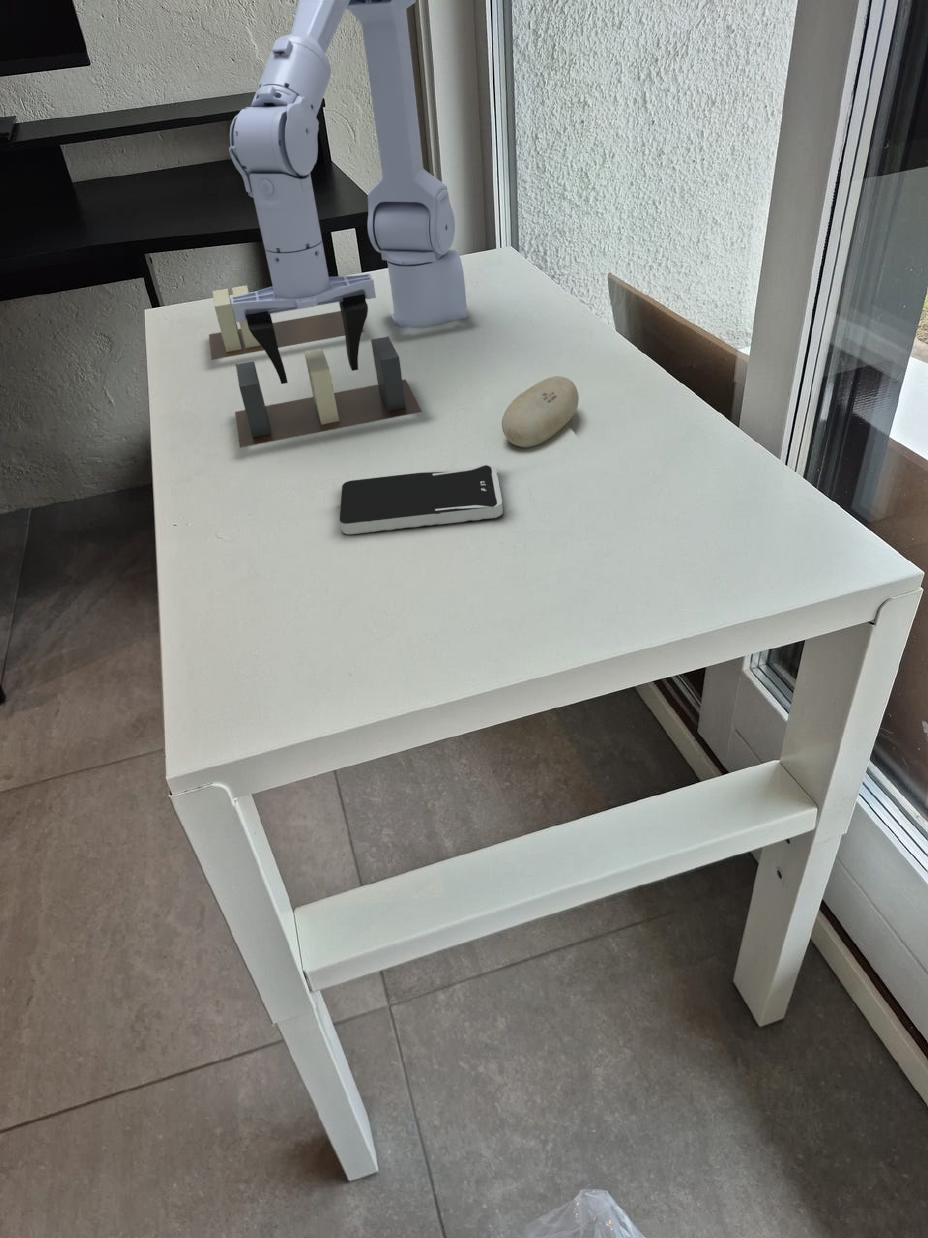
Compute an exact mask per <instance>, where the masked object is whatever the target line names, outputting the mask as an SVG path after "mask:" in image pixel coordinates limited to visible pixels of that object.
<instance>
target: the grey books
mask: <svg viewBox="0 0 928 1238" xmlns="http://www.w3.org/2000/svg"><path fill="white" fill-rule="evenodd" d="M370 343H371V348H372V356H373V361H374V367H375V375H376V380H377V385H378V388H379V391H380V393H381V395H382V398H383V400H384V402H385V404H386V407H387V409H388V411H394V410H399V409H404V408H406V404H405V396H404V389H403V382H402V380H403V376H402V375H403V374H402V369H401V368H402V367H401V361H400V356H399V354H398V352H397V350H396V348H395V346H394V344H393V343H392V341H391V339H390V336H384V337H378V338H373V339H370ZM235 368H236V374H237V381H238V387H239V391H240V395H241V399H242V403H243V407H244V410H245V411H246V415H247V419H248V422H249V426H250V430H251V434H252V438H256V437H261V436H266V435H271V432H270V427H269V422H268V417H267V412H266V408H265V406H266V404H265V400H264V396H263V392H262V388H261V384H260V380H259V376H258V375H259V374H258V371H257V367H256V363H255V361H254V360H253V361H247V362H243V363H237V364H235Z"/></svg>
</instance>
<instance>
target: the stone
mask: <svg viewBox="0 0 928 1238" xmlns="http://www.w3.org/2000/svg"><path fill="white" fill-rule="evenodd" d="M579 396H580V395H579V392H578V389H577V386H576V385H575V383H574V381H572V379H570V378H568V377H565V376H562V375H561V376H560V375H556V376H555V375H554V376H551V377H548V378H545V379H543V380H541V381H538V382H537V383H535V384H534V385H532V386H531V387H529V388H526V390H524V391H523V392H521V393H519V394H518V395H517V396H516V398H514V399H513V400H512V401H511V403H509V405H508V406H507V408H506V410H505V411H504V413H503V416H502V419H501V429H502V433H503V435H504V437H505V438H506V439H507V441H508V442H510V443H511V444H512V445H515V446H516V447H518V448H523V449H524V448H525V449H527V448H533V447H537V446H539V445H541V444H543V443H545V442H547V441H548V440H549V439H551V438H553V437H554V436H555V435H556V434H557V433H559V432H560V431H561V430H563V428H564V427H565V426H566V425H567V424H568V423H569V422H570V420H571V419H572V418H573V416H574V414H575V413H576V411H577V409H578V406H579V399H580V397H579Z"/></svg>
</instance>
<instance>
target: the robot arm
mask: <svg viewBox="0 0 928 1238" xmlns="http://www.w3.org/2000/svg"><path fill="white" fill-rule="evenodd" d="M416 1H417V0H298V3H297V7H296V10H295V14H294V19H293V23H292V26H291V30H290V34H285V35H282V36H280V37H278V38H277V39H276V40H275V41H274V43H273V45H272V47H271V50H270V54H269V56H268V58H267V61H266V63H265V66H264V69H263V72H262V75H261V77H260V80H259V83H258V85H257V88H256V91H255V93H254V96H253V99H252V102H251V104H250V106H246V107H244V108H242V109H241V110H240V111H239V112H238V114H236V115H235V116H234V118H233V119H232V121H231V124H230V129H229V144H230V147H229V148H228V152H229V155H230V159H231V161H232V163H233V166H234V167H235V169H236V170H237V171H238V173H239V174H240V176H241V178H242V180H243V183H244V187H245V192H246V193H248V196H249V197H250V198H252V199H253V202H254V206H255V212H256V215H257V220H258V225H259V229H260V235H261V238H262V244H263V248H264V251H265V257H266V261H267V267H268V270H269V276H270V280H271V284H272V286H269V287H266V288H263V289H262V288H261V289H259V290H256V291H252V292H249V294H245V295H241V296H236V297H233V296H230V299H231V304H232V308H233V312H234V316H235V320H236V323H239V322H241V321H245V320H246V319H247V323H248V328H249V330H250V332H251V333H252V335H253V336H254V338H255V339H256V340H257V341H258V342H259V344H260V345H261V346H262V348H263V349H264V352H265V354H266V355H267V357H268V358H269V360H270V361H271V363H272V365H273V367H274V369H275V371H276V373H277V375H278V378H279V381H280V384H281V385H284V384H288V383H289V382H288V378H287V373H286V369H285V366H284V362H283V359H282V356H281V353H280V350H279V348H278V345H277V341H276V336H275V331H274V327H273V323H274V322H273V319H272V315H273V314H279V313H284V312H289V311H295V310H303V309H308V308H313V307H314V308H315V307H318V306H324V305H331V304H335V303H338V304H339V308H340V309H339V310H340V311H341V314H342V319H343V324H344V330H345V336H344V338H345V347H346V355H347V360H348V364H349V365H348V366H349V367H350V369H351V372H353V371H358V370H359V349H360V344H361V343H360V342H361V337H362V333H363V332H362V329H363V328H364V325H365V323H366V320H367V318H368V313H369V305H368V303H367V301H366V300H372V299H376V298H377V295H376V288H375V282H374V278H373V276H372V275H371V273H364V274H357V275H341V276H329V271H328V267H327V260H326V254H325V250H324V249H325V248H324V244H323V243H324V242H323V239H322V232H321V226H320V221H319V215H318V210H317V204H316V198H315V193H314V187H313V181H312V177H311V176H312V175H311V172H312V171H313V169H314V168H315V165H316V164H317V162H318V161H317V160H318V153H319V143H318V133H319V129H320V128H319V124H320V122H319V120H318V118H317V115H318V113H319V111H320V109H321V105H322V102H323V99H324V96H325V93H326V91H327V87H328V85H329V81H330V79H331V76H332V68H331V64H330V60H329V59H328V56H327V55H326V53H327V51H328V49H329V46H330V45H331V42H332V40H333V38H334V35H336V34H335V33H336V32H337V29H338V27H339V25H340V23H341V20H342V18H343V16H344V14H345V11H346V10H348V11H349V12H350V13H351V14H352V15H353V16H354V17H355V18H356V19H357V20H358V21H359V23H360V24H361V27H362V34H363V43H364V50H365V57H366V64H367V71H368V80H369V87H370V94H371V101H372V108H373V116H374V124H375V129H376V130H375V131H376V137H377V138H376V139H377V145H378V153H379V159H380V160H379V161H380V168H381V174H382V177H381V178H380V179H379V180H378V181H377V182H376V183H375V184H374V185H373V186H372V187H371V189H370V191H369V192H368V194H367V208H368V210H367V211H368V215H367V234H368V238H369V241H370V243H371V245H372V247H373V248H374V250H375V251H376V252H378V253H380V256H381V260H382V261H386V263H387V270H388V277H389V284H390V291H391V298H392V307H393V313H391V314H390V316H391V318H392V320H393V322H394V324H395V325H396V327H397V329H399V330H400V329H404V328H405V329H406V328H410V329H421V328H429V327H433V326H436V325H437V326H438V325H439V324H442V323H447V322H452V321H457V320H463V319H467V318H468V307H467V296H466V282H465V274H464V267H463V264H462V259H461V257H460V254H459V252H458V250H457V249H453V248H452V249H451V247H452V245H453V243H454V241H455V240H454V239H455V234H456V219H455V213H454V210H453V208H452V205H451V201H450V194H449V191H448V186H447V185H446V184H445V183H444V182H442V181H441V180H439V179H438V178H437V177H435V176H434V175H432V174H431V173H430V172H428V171H427V170H426V169H425V168H424V162H423V153H422V152H423V151H422V144H421V134H420V125H419V116H418V107H417V97H416V87H415V79H414V71H413V61H412V51H411V42H410V31H409V25H408V24H409V23H408V15H407V14H408V13H407V9H408V8H409V7H412V5H413V4H415V3H416Z"/></svg>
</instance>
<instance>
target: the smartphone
mask: <svg viewBox="0 0 928 1238" xmlns="http://www.w3.org/2000/svg"><path fill="white" fill-rule="evenodd" d="M340 495H341V497H340V509H339V523H340V528H341V532H342V534H344V535H348V536H349V535H351V536H352V535H358V534H367V533H368V534H369V533H377V532H385V531H394V530H403V529H412V528H419V527H429V526H437V525H446V524H455V523H464V522H471V521H472V522H473V521H480V520H482V521H483V520H491V519H497V518H500V517H501V516H502V515H503V513H504V508H503V499H502V493H501V486H500V482H499V476H498V470H497V467H496V466H495V465H491V464H481V465H473V466H466V467H457V468H448V469H441V470H432V471H431V470H430V471H422V472H414V473H413V472H412V473H404V474H397V475H387V476H380V477H378V476H377V477H371V478H370V477H369V478H362V479H361V478H360V479H354V480H353V479H352V480H348V481H346V482H344V483H343V484H342V485H341V494H340Z"/></svg>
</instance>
